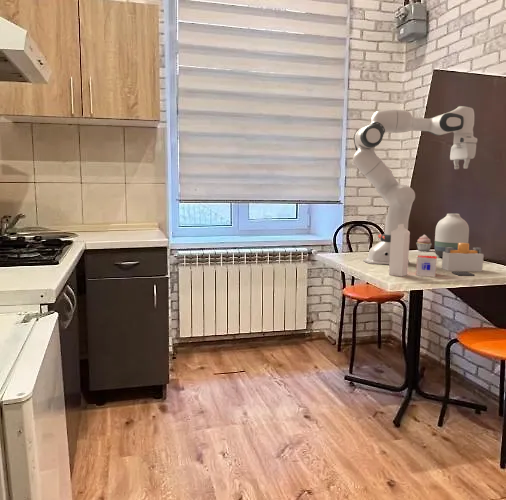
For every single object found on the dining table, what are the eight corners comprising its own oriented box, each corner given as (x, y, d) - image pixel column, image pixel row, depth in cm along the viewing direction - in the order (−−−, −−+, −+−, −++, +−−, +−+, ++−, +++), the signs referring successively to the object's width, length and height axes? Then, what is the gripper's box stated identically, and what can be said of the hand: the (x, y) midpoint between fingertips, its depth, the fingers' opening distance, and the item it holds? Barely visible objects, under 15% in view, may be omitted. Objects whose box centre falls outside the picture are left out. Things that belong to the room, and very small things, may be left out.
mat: (458, 275, 216) (458, 274, 216) (451, 272, 223) (451, 271, 222) (474, 275, 216) (474, 274, 216) (467, 273, 223) (467, 271, 223)
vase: (470, 260, 262) (473, 215, 258) (436, 259, 265) (439, 214, 261) (462, 256, 278) (466, 213, 275) (431, 255, 281) (434, 212, 278)
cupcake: (421, 249, 305) (422, 233, 304) (434, 251, 298) (436, 234, 296) (412, 250, 300) (413, 234, 299) (425, 252, 292) (426, 235, 291)
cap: (451, 253, 228) (452, 243, 227) (447, 252, 232) (447, 242, 232) (479, 253, 228) (479, 244, 228) (474, 252, 233) (474, 242, 232)
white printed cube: (435, 273, 220) (436, 256, 219) (435, 276, 213) (436, 258, 212) (416, 272, 223) (417, 255, 222) (415, 275, 215) (416, 257, 214)
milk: (407, 274, 216) (410, 224, 213) (401, 276, 211) (405, 225, 208) (394, 273, 219) (397, 223, 216) (388, 274, 215) (391, 224, 212)
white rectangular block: (448, 270, 228) (449, 248, 226) (441, 268, 234) (443, 246, 233) (482, 271, 228) (484, 248, 227) (474, 268, 235) (476, 247, 234)
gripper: (447, 142, 254) (445, 169, 256) (466, 138, 234) (464, 168, 236) (459, 142, 254) (457, 169, 256) (479, 138, 234) (477, 168, 236)
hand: (461, 168), depth 246 cm, fingers open, 8 cm apart
